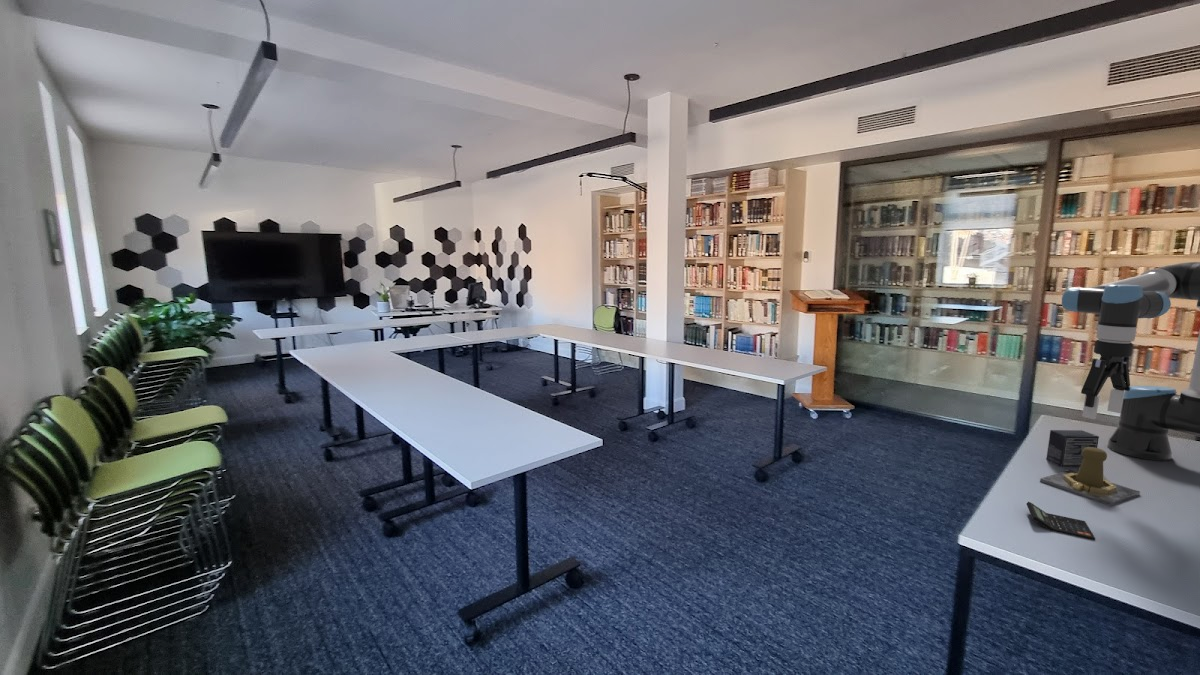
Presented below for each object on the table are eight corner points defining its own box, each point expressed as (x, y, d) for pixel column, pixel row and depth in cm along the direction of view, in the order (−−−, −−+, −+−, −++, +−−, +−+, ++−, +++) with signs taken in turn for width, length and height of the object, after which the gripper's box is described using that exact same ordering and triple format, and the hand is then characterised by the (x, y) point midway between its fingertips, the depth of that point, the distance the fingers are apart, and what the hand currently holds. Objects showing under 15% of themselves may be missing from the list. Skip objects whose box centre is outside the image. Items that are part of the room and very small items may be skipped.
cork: (1084, 488, 146) (1090, 451, 144) (1069, 479, 152) (1075, 443, 150) (1109, 490, 145) (1115, 453, 143) (1093, 481, 151) (1099, 445, 149)
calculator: (1094, 541, 121) (1096, 529, 121) (1031, 527, 127) (1032, 516, 127) (1084, 524, 129) (1086, 513, 129) (1025, 511, 135) (1026, 501, 135)
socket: (1069, 472, 159) (1070, 466, 159) (1139, 494, 145) (1140, 487, 144) (1040, 481, 153) (1041, 474, 152) (1110, 505, 138) (1111, 498, 138)
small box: (1077, 459, 169) (1082, 429, 168) (1095, 468, 163) (1101, 436, 161) (1044, 459, 170) (1049, 428, 168) (1061, 467, 163) (1066, 435, 161)
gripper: (1119, 335, 150) (1107, 405, 153) (1072, 341, 140) (1061, 416, 143) (1154, 339, 143) (1141, 413, 147) (1108, 346, 133) (1095, 424, 137)
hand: (1101, 415), depth 145 cm, fingers open, 13 cm apart
